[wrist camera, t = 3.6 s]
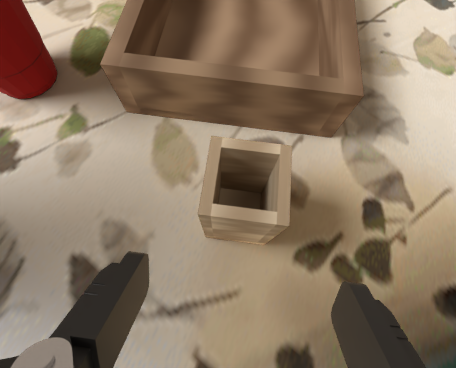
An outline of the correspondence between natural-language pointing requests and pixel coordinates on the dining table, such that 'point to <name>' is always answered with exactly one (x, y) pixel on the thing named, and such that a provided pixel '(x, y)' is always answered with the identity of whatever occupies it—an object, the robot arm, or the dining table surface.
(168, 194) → the dining table surface
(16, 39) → the plastic cup
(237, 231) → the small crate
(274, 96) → the crate
